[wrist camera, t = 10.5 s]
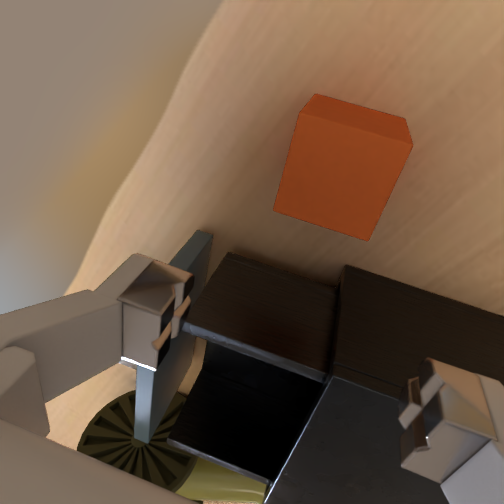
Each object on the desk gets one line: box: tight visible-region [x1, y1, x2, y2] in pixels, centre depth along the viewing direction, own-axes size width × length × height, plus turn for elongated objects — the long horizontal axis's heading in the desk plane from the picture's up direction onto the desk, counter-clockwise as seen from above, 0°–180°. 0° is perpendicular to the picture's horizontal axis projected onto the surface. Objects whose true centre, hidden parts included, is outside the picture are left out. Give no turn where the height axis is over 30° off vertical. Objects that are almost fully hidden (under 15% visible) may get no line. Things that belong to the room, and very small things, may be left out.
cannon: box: [77, 390, 266, 504], centre depth 35 cm, size 25×12×11 cm, turn 88°
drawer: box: [119, 230, 340, 486], centre depth 26 cm, size 19×14×8 cm
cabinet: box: [262, 265, 504, 504], centre depth 25 cm, size 15×16×10 cm
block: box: [273, 94, 413, 241], centre depth 19 cm, size 5×5×5 cm
